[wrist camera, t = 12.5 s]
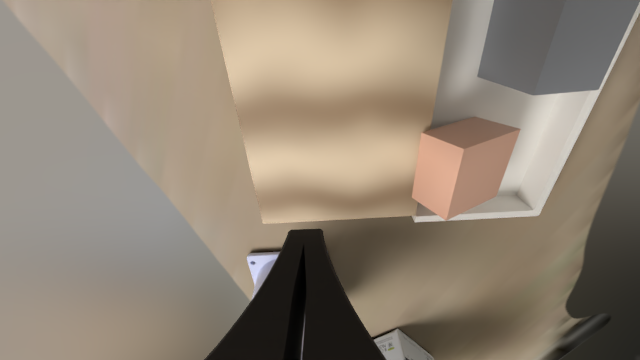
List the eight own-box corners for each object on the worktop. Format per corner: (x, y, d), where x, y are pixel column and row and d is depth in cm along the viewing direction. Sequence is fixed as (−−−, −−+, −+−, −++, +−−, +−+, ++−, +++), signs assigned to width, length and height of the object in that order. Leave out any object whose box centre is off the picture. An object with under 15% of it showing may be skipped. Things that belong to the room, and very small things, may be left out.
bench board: (406, 197, 22) (415, 215, 20) (267, 205, 22) (262, 223, 20) (441, -47, 14) (462, -59, 12) (218, -30, 14) (201, -38, 12)
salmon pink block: (459, 177, 20) (496, 196, 18) (411, 197, 19) (446, 220, 16) (474, 116, 18) (520, 128, 15) (421, 132, 16) (464, 149, 14)
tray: (517, 197, 22) (538, 215, 20) (405, 203, 22) (414, 222, 20) (632, -77, 13) (694, -96, 11) (443, -62, 13) (467, -78, 11)
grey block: (477, 76, 16) (524, 72, 16) (533, 95, 12) (598, 89, 12) (498, -22, 14) (556, -28, 14) (580, -42, 10) (664, -51, 9)
